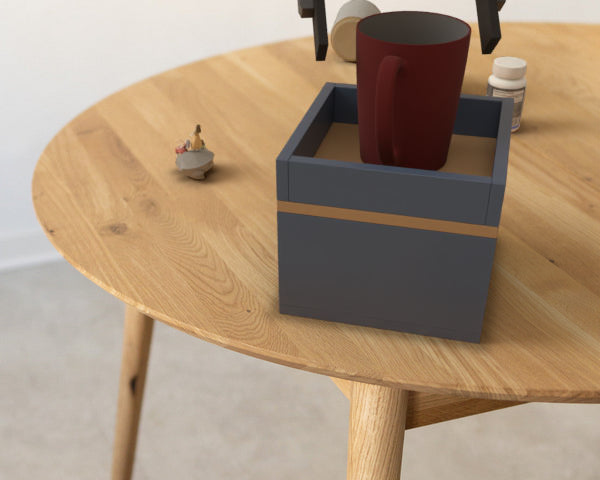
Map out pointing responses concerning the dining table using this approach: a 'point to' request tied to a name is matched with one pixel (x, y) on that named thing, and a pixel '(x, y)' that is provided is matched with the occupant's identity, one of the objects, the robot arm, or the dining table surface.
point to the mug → (409, 86)
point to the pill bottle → (509, 84)
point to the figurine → (194, 156)
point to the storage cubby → (390, 222)
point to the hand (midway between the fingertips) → (407, 50)
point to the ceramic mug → (349, 27)
